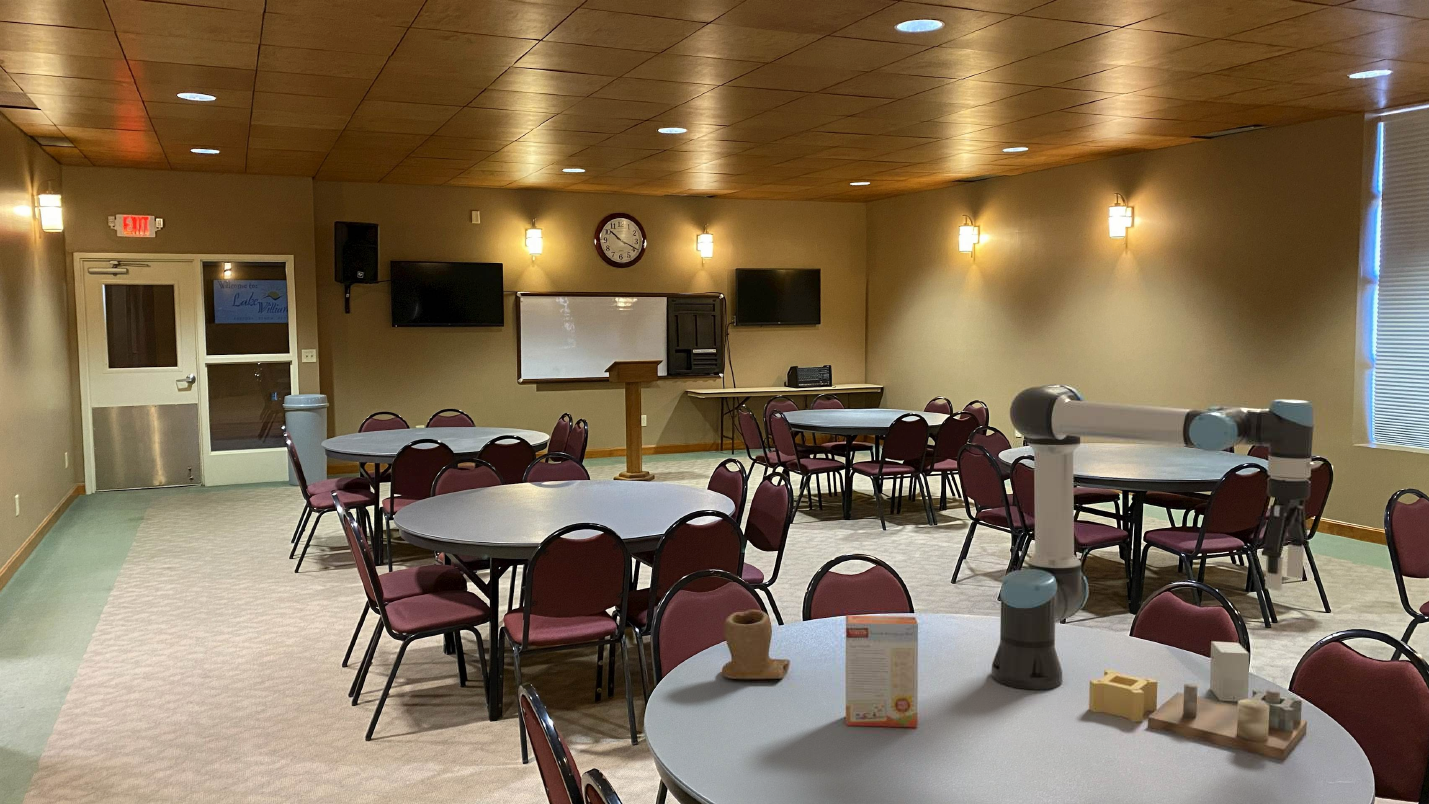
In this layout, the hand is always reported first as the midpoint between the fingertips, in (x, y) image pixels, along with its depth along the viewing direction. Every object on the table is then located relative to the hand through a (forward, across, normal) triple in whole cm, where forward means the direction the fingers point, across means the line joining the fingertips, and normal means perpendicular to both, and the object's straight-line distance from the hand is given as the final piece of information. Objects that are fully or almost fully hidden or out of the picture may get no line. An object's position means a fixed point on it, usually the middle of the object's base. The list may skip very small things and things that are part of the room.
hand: (1284, 583), depth 210 cm
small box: (+27, +5, +11) cm, 30 cm away
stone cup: (+28, -57, +90) cm, 111 cm away
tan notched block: (+27, -19, +24) cm, 41 cm away
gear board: (+27, -15, +5) cm, 31 cm away
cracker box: (+28, -59, +55) cm, 85 cm away
